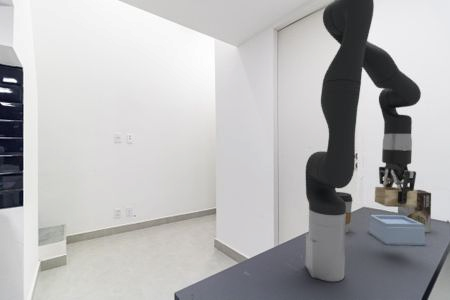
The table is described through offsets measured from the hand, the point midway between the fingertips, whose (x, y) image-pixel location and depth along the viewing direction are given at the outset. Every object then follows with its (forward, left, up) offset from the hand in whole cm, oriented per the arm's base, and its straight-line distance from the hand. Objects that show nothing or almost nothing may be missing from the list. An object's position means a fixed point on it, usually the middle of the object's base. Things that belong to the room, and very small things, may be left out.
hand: (394, 200), depth 75 cm
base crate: (+9, +13, -17) cm, 23 cm away
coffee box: (+23, +23, -18) cm, 37 cm away
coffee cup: (-8, +20, -17) cm, 28 cm away
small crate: (0, 0, -1) cm, 1 cm away
